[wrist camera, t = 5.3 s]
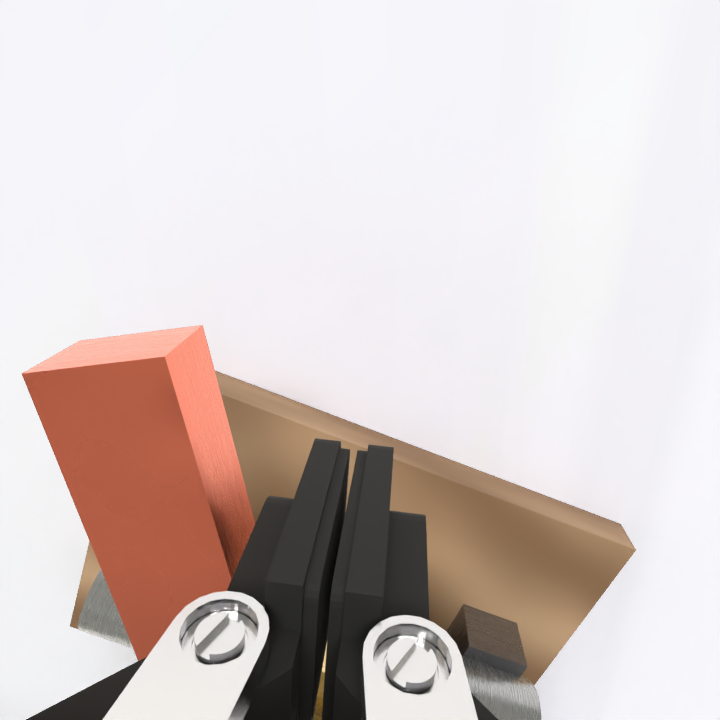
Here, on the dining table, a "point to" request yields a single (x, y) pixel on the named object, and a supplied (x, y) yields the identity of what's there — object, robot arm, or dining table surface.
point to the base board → (441, 523)
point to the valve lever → (148, 469)
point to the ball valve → (468, 629)
